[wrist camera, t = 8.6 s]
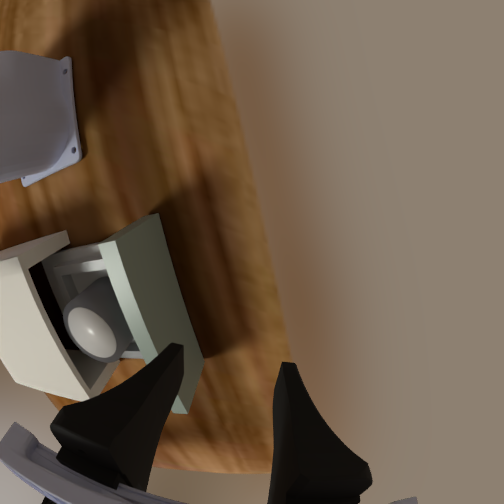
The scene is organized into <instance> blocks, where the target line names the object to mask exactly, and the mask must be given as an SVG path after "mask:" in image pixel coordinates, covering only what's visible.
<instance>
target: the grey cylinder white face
mask: <svg viewBox="0 0 504 504" xmlns="http://www.w3.org/2000/svg"><path fill="white" fill-rule="evenodd" d="M63 320H64V325H65V328H66V330H67V333H68V334H69V336H70V338H71V339H72V341H73V342H74V343H75V344H76V346H77V347H78V348H79V349H80V350H81V351H83V352H84V353H85V354H86V355H88V356H89V357H91V358H93V359H95V360H98V361H101V362H105V363H111V362H115V361H117V360H118V359H120V357H121V356H122V354H123V353H124V351H125V350H126V349H127V347H128V346H129V344H130V343H131V341H132V340H133V339H134V337H133V335H132V333H131V330H130V328H129V326H128V324H127V321H126V319H125V317H124V314H123V312H122V309H121V307H120V304H119V302H118V299H117V297H116V294H115V292H114V289H113V286H112V284H111V281H110V278H109V276H104V277H100V278H98V279H97V280H95V281H94V282H93V283H92V284H90V285H89V286H88V287H87V288H86V289H84V290H83V291H82V292H81V293H80V294H78V295H77V296H76V297H75V298H74V299H73V300H71V301H70V302H69V303H68V304H67V305H66V307H65V309H64V312H63Z"/></svg>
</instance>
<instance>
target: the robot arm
mask: <svg viewBox="0 0 504 504" xmlns="http://www.w3.org/2000/svg"><path fill="white" fill-rule="evenodd" d="M66 71H67V73H66ZM75 148H76V152H75V151H74V149H75ZM81 159H82V151H81V145H80V139H79V133H78V126H77V119H76V111H75V102H74V91H73V79H72V60H71V58H70V57H68V56H66V57H64V58H63V59H61V60H60V61H59V60H56V59H52V58H47V57H43V56H39V55H34V54H29V53H24V52H19V51H1V52H0V183H3V182H6V181H10V180H14V179H18V178H21V180H22V184H23V186H24V187H27V186H29V185H31V184H33V183H35V182H37V181H39V180H41V179H43V178H45V177H47V176H49V175H51V174H53V173H55V172H57V171H59V170H62V169H64V168H66V167H68V166H70V165H73V164H75V163H77V162H79V161H80V160H81ZM183 376H184V345H181V344H177V343H173V342H172V343H170V344H169V345H168V346H167V347H166V348H165V349H164V350H163V351H162V352H161V353H160V354H158V355H157V356H156V357H155V358H154V359H153V360H152V361H151V362H150V363H148V364H147V365H146V366H145V367H144V368H142V369H141V370H140V371H138V372H137V373H136V374H134V375H133V376H132V377H130V378H129V379H127V380H126V381H124V382H123V383H121V384H119V385H118V386H116V387H114V388H112V389H110V390H109V391H107V392H105V393H102V394H100V395H98V396H95V397H93V398H90V399H88V400H85V401H82V402H78V403H74V404H71V405H67V406H63V408H62V409H61V410H60V411H59V413H58V414H57V416H56V417H55V419H54V420H53V422H52V423H51V425H50V429H51V431H52V433H53V435H54V436H55V437H56V439H57V440H58V442H59V443H60V444H61V446H62V447H61V449H60V451H59V452H58V453H56V452H54V451H53V450H51V449H49V448H47V447H46V446H44V445H42V444H41V443H39V441H38V440H37V438H36V437H35V436H34V435H33V434H32V433H31V432H29V431H28V430H27V429H25V428H24V427H22V426H21V425H19V424H18V423H16V422H14V423H13V424H12V426H11V427H10V429H9V430H8V432H7V433H6V434H5V436H4V437H3V439H2V440H1V442H0V461H1V462H2V463H3V464H4V465H5V466H6V467H7V468H8V469H9V470H10V471H12V472H13V473H14V474H15V475H16V476H17V477H19V478H20V479H21V480H23V481H24V482H25V483H27V484H28V485H30V486H31V487H32V488H34V489H35V490H37V491H38V492H40V493H41V494H43V495H44V496H46V497H47V498H49V499H50V500H52V501H54V502H55V503H57V504H187V503H182V502H179V501H174V500H171V499H167V498H163V497H160V496H156V495H153V494H150V493H147V492H146V489H147V485H148V481H149V476H150V472H151V468H152V464H153V459H154V456H155V452H156V449H157V445H158V442H159V438H160V435H161V432H162V429H163V426H164V424H165V422H166V419H167V417H168V415H169V413H170V410H171V408H172V406H173V404H174V401H175V399H176V397H177V395H178V392H179V390H180V386H181V383H182V380H183ZM273 435H274V452H273V463H272V473H271V481H270V489H269V497H268V503H267V504H358V503H360V494H362V493H363V492H364V491H365V490H366V489H368V488H369V487H370V486H371V485H372V476H371V472H370V469H369V466H368V463H367V462H365V461H364V460H363V459H361V458H360V457H359V456H357V455H356V454H355V453H353V452H352V451H351V450H350V449H349V448H348V447H347V446H346V445H345V444H344V443H343V442H342V441H341V440H340V439H339V438H338V437H337V436H336V434H334V432H333V431H332V430H331V428H330V427H329V426H328V425H327V423H326V422H325V421H324V419H323V418H322V416H321V415H320V413H319V412H318V410H317V408H316V407H315V405H314V403H313V402H312V400H311V398H310V396H309V394H308V392H307V390H306V388H305V386H304V384H303V381H302V379H301V377H300V374H299V371H298V369H297V365H296V364H295V363H290V362H282V364H281V367H280V371H279V375H278V378H277V382H276V385H275V388H274V398H273ZM390 504H418V503H417V498H416V497H411V498H407V499H403V500H398V501H395V502H392V503H390Z"/></svg>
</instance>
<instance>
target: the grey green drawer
mask: <svg viewBox="0 0 504 504" xmlns="http://www.w3.org/2000/svg"><path fill="white" fill-rule="evenodd" d="M41 262H42V265H43V268H44V270H45V273H46V276H47V278H48V281H49V283H50V286H51V288H52V291H53V293H54V296H55V298H56V300H57V303H58V305H59V307H60V309H61V311H62V314H63V312H64V309H65V307H66V305H67V304H68V303H69V302H70V301H71V300H73V299H74V298H75V297H76V296H77V295H78V294H80V293H81V292H82V291H83V290H84V289H86V288H87V287H88V286H89V285H90V284H92V283H93V282H94V281H95V280H97V279H98V278H100V277H104V276H109V278H110V281H111V284H112V286H113V289H114V292H115V294H116V297H117V299H118V302H119V304H120V307H121V309H122V312H123V314H124V317H125V319H126V321H127V324H128V326H129V328H130V330H131V333H132V335H133V337H134V339H133V340H132V341H131V343H130V344H129V346H128V347H127V349H126V350H125V351H124V353H123V354H122V356H121V357H120V358H141V359H144V360H145V362H146V364H148V363H150V362H151V361H152V360H153V359H154V358H155V357H156V356H157V355H158V354H160V353H161V352H162V351H163V350H164V349H165V348H166V347H167V346H168V345H169V344H170V343H172V342H173V343H177V344H181V345H184V376H183V380H182V383H181V386H180V390H179V392H178V395H177V397H176V399H175V401H174V404H173V406H172V408H171V410H172V412H173V413H180V414H188V412H189V409H190V406H191V403H192V400H193V397H194V393H195V390H196V387H197V384H198V381H199V378H200V375H201V372H202V369H203V365H204V362H205V361H204V359H203V356H202V353H201V350H200V348H199V345H198V342H197V339H196V336H195V334H194V331H193V328H192V325H191V322H190V319H189V316H188V313H187V310H186V307H185V304H184V301H183V297H182V294H181V291H180V288H179V285H178V281H177V278H176V275H175V271H174V268H173V264H172V261H171V258H170V254H169V250H168V247H167V243H166V239H165V236H164V232H163V228H162V224H161V220H160V216H159V213H156V214H152V215H147V216H144V217H142V218H140V219H138V220H137V221H135V222H133V223H132V224H130V225H128V226H127V227H125V228H123V229H122V230H120V231H118V232H117V233H115V234H113V235H112V236H110V237H109V238H107V239H105V240H104V241H102V242H98V243H93V244H89V245H84V246H80V247H75V248H71V249H66V250H62V251H58V252H55V253H53V254H51V255H50V256H48V257H46V258H45V259H43V260H41ZM82 353H83V354H85V353H84V352H83V351H82Z"/></svg>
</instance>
